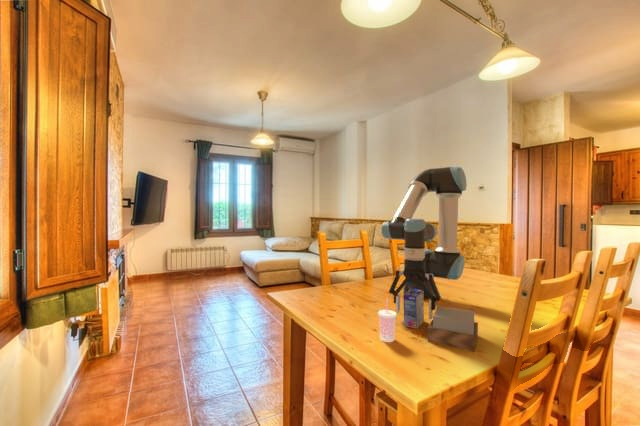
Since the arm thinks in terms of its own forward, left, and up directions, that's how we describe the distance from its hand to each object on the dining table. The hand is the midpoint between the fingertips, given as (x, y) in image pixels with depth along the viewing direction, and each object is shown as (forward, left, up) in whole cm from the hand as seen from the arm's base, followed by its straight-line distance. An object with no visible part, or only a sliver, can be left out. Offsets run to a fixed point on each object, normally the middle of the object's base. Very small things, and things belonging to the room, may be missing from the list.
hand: (413, 314), depth 114 cm
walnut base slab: (+15, -6, -4) cm, 17 cm away
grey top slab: (+15, -6, +1) cm, 16 cm away
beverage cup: (-4, -19, -3) cm, 20 cm away
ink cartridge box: (0, 0, -4) cm, 4 cm away
